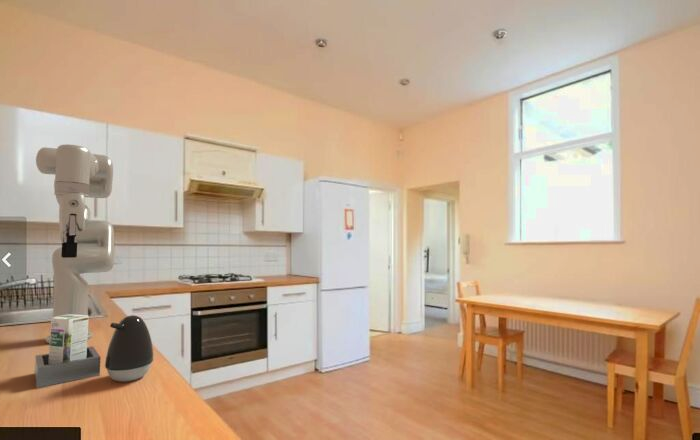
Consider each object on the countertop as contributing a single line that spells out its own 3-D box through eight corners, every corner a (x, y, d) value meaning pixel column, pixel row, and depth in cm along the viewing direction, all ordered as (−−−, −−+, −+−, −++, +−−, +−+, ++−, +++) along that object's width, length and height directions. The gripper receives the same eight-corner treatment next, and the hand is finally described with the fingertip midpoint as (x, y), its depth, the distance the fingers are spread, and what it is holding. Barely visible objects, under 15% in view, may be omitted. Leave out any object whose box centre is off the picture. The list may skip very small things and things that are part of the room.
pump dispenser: (93, 382, 86) (96, 318, 87) (132, 368, 96) (135, 310, 97) (124, 389, 83) (127, 321, 83) (162, 373, 92) (164, 313, 93)
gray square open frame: (34, 373, 92) (35, 355, 92) (92, 362, 100) (92, 346, 100) (36, 388, 83) (37, 368, 83) (99, 375, 91) (100, 356, 91)
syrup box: (46, 377, 89) (49, 317, 90) (69, 368, 95) (71, 313, 96) (64, 379, 88) (67, 318, 89) (87, 370, 94) (89, 314, 95)
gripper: (93, 189, 97) (89, 258, 96) (85, 194, 108) (82, 256, 107) (57, 186, 92) (53, 259, 91) (52, 191, 103) (49, 256, 102)
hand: (69, 257), depth 99 cm, fingers closed
